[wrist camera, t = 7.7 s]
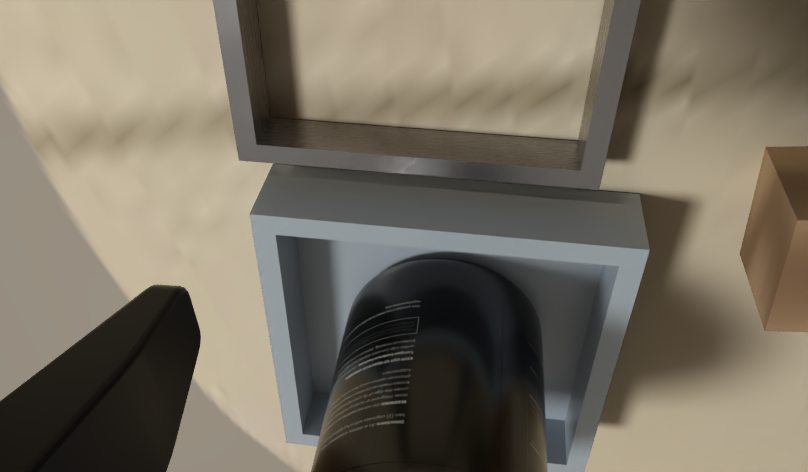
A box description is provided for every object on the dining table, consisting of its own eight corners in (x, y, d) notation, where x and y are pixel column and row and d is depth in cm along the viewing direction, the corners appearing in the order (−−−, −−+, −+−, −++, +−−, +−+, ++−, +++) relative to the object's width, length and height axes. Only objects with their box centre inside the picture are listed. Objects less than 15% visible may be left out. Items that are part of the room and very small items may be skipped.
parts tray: (579, 420, 30) (582, 477, 28) (302, 389, 31) (286, 442, 29) (639, 194, 22) (649, 250, 21) (273, 163, 24) (249, 214, 22)
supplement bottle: (363, 379, 29) (286, 730, 20) (339, 246, 25) (227, 618, 16) (541, 388, 28) (546, 763, 19) (549, 251, 24) (561, 653, 15)
